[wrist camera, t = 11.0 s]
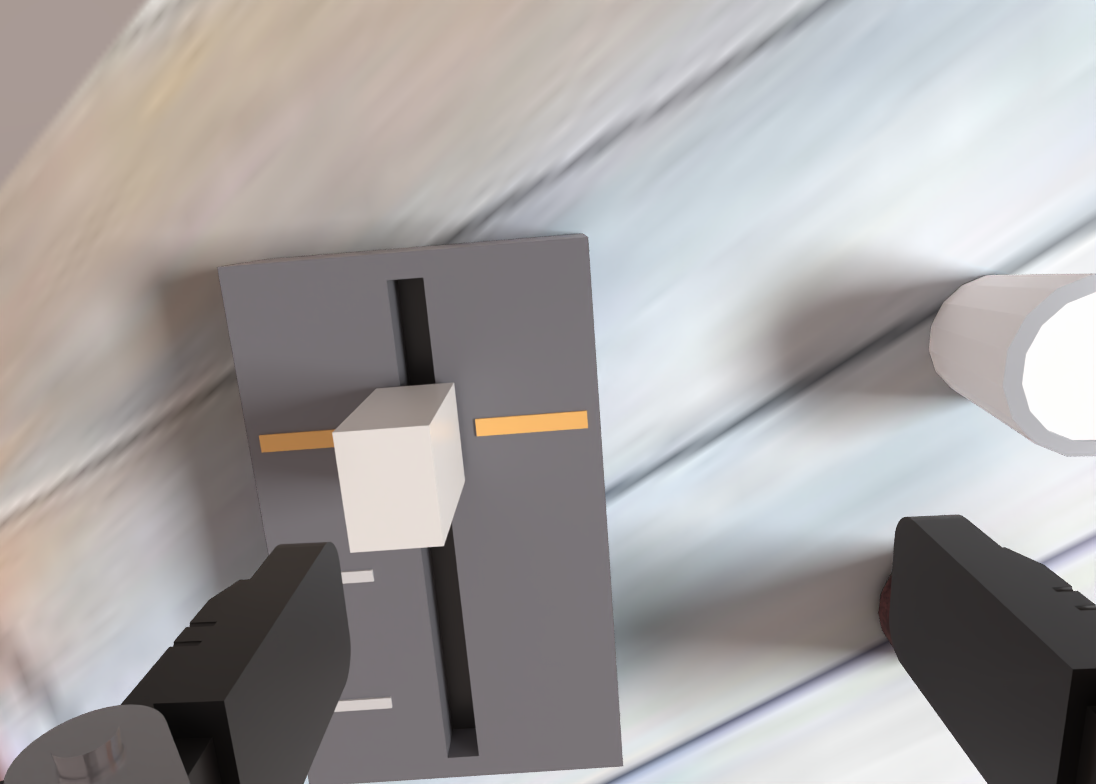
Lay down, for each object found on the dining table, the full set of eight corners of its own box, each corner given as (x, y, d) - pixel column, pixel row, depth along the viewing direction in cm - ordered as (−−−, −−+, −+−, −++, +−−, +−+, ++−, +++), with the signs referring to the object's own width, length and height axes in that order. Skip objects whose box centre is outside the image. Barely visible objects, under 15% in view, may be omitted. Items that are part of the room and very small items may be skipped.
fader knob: (387, 377, 31) (332, 432, 23) (460, 371, 31) (429, 425, 23) (399, 469, 32) (350, 552, 24) (470, 464, 32) (443, 546, 24)
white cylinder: (1039, 422, 35) (1157, 473, 28) (895, 396, 35) (979, 441, 28) (1091, 275, 33) (1229, 291, 27) (940, 246, 33) (1041, 255, 26)
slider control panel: (265, 259, 33) (216, 267, 28) (583, 233, 33) (588, 237, 28) (340, 714, 39) (308, 788, 34) (614, 695, 38) (623, 768, 33)
